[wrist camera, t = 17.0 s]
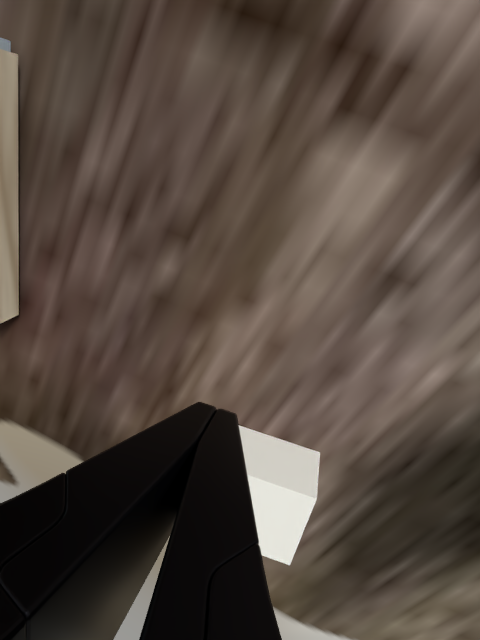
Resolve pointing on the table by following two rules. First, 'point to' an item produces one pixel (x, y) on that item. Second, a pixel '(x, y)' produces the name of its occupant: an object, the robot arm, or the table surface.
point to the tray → (9, 187)
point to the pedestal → (280, 490)
